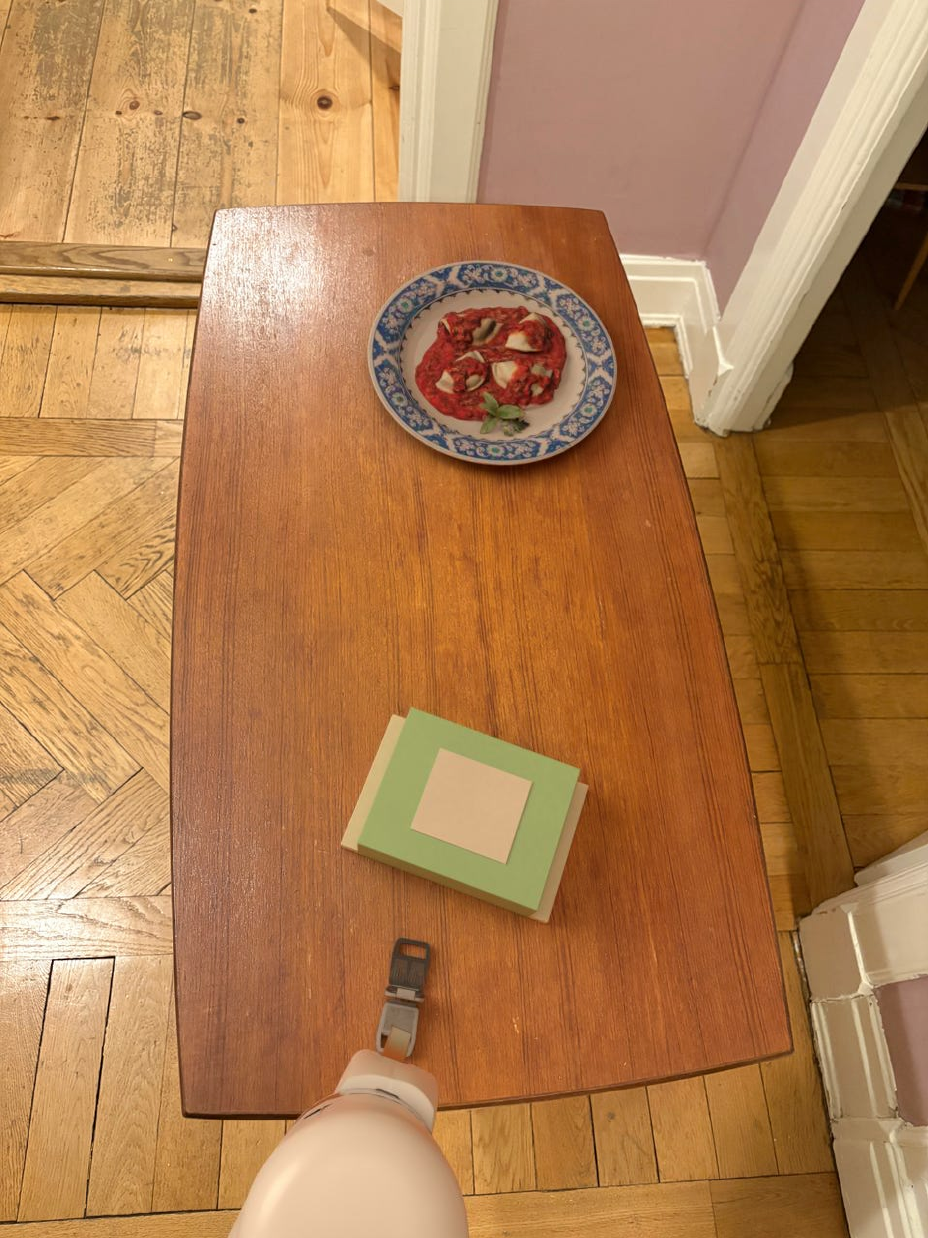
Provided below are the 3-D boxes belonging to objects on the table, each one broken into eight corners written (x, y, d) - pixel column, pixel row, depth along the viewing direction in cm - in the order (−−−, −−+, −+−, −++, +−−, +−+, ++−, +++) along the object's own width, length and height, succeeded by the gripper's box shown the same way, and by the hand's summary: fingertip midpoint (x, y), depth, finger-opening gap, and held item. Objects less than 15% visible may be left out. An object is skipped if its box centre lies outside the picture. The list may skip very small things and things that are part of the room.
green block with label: (545, 924, 78) (556, 918, 73) (340, 847, 78) (338, 836, 74) (586, 788, 82) (598, 774, 78) (392, 717, 83) (394, 699, 79)
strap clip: (411, 1059, 73) (414, 1061, 69) (373, 1052, 73) (373, 1053, 69) (432, 944, 76) (436, 939, 72) (395, 937, 76) (397, 932, 72)
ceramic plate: (392, 254, 104) (393, 233, 101) (622, 299, 105) (629, 279, 102) (344, 449, 94) (343, 431, 91) (599, 497, 94) (606, 481, 91)
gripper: (367, 1456, 37) (367, 1321, 54) (500, 1023, 43) (462, 1024, 60) (188, 1382, 37) (244, 1271, 54) (347, 964, 44) (352, 981, 60)
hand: (359, 1141), depth 57 cm, fingers open, 3 cm apart
